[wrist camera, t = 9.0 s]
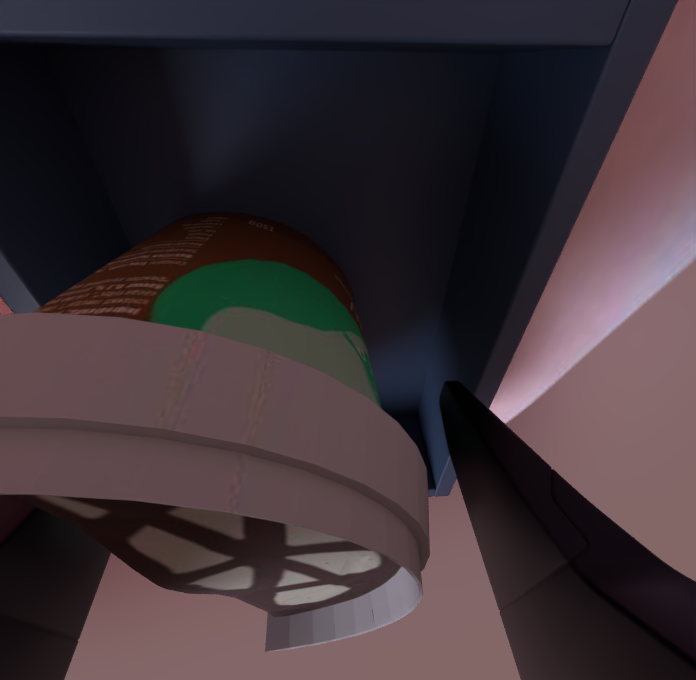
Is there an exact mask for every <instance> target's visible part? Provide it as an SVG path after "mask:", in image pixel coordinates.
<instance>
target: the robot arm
mask: <svg viewBox="0 0 696 680" xmlns="http://www.w3.org/2000/svg"><path fill="white" fill-rule="evenodd" d="M439 405H440V411H441V416H442V421H443V426H444V431H445V436H446V441H447V446H448V451H449V454H450V457H451V461H452V464H453V467H454V470H455V473H456V476H457V479H458V483H459V486H460V489H461V492H462V495H463V498H464V501H465V504H466V508H467V511H468V514H469V517H470V520H471V523H472V526H473V530H474V533H475V536H476V539H477V542H478V545H479V549H480V552H481V555H482V558H483V561H484V564H485V567H486V571H487V574H488V577H489V580H490V583H491V586H492V589H493V593H494V595H495V599H496V602H497V605H498V608H499V610H500V615H501V618H502V621H503V624H504V628H505V631H506V634H507V637H508V640H509V643H510V647H511V649H512V652H513V656H514V659H515V662H516V665H517V669H518V672H519V675H520V678H521V680H696V582H695V581H694V580H692V579H690V578H688V577H686V576H685V575H683V574H681V573H680V572H678V571H676V570H675V569H673V568H672V567H670V566H669V565H668V564H666V563H665V562H663V561H662V560H661V559H659V558H658V557H657V556H656V555H654V554H653V553H652V552H651V551H649V550H648V549H647V548H646V547H644V546H643V545H642V544H640V543H639V542H638V541H637V540H636V539H635V538H633V537H632V536H631V535H629V534H628V533H627V532H626V531H625V530H623V529H622V528H621V527H620V526H618V525H617V524H616V523H615V522H613V521H612V520H611V519H610V518H608V517H607V516H606V515H605V514H604V513H602V512H601V511H600V510H599V509H598V508H596V507H595V506H594V505H593V504H592V503H590V502H589V501H588V500H587V499H586V498H584V497H583V496H582V495H581V494H580V493H579V492H578V491H577V490H576V489H574V488H573V487H572V486H571V485H570V484H569V483H568V482H567V481H566V480H564V479H563V478H562V477H561V476H560V475H559V474H558V473H557V472H556V471H555V470H553V469H552V470H551V467H550V466H549V465H548V464H547V463H546V462H545V461H544V460H543V459H542V458H541V457H540V456H539V455H538V454H536V453H535V452H534V451H533V450H532V449H531V448H530V447H529V446H528V445H527V444H526V443H525V442H524V441H523V440H521V439H520V438H519V437H518V436H517V435H516V434H515V433H514V432H513V431H512V430H511V429H510V428H509V427H508V426H507V425H505V424H504V423H503V422H502V421H501V420H500V419H499V418H498V417H497V416H496V415H495V414H494V413H493V412H492V411H491V410H489V409H488V408H487V407H486V406H485V405H484V404H483V403H482V402H481V401H480V400H479V399H478V398H477V397H476V396H474V395H473V394H472V393H471V392H470V391H469V390H468V389H467V388H466V387H465V386H464V385H463V384H462V383H461V382H459V381H457V380H453V381H445V382H444V384H443V387H442V391H441V394H440V397H439ZM110 554H111V552H110V551H109V550H108V549H106V548H105V547H104V546H102V545H101V544H100V543H98V542H97V541H96V540H94V539H93V538H92V537H90V536H89V535H88V534H87V533H85V532H84V531H83V530H81V529H80V528H78V527H76V526H74V525H72V524H70V523H68V522H66V521H64V520H62V519H60V518H58V517H56V516H54V515H52V514H50V513H48V512H46V511H43V510H41V509H39V508H37V507H35V506H33V505H31V504H29V503H27V502H25V501H23V500H21V499H19V498H17V497H15V496H13V495H0V680H64V679H65V676H66V673H67V671H68V668H69V665H70V662H71V660H72V657H73V654H74V652H75V649H76V646H77V644H78V639H79V638H80V635H81V632H82V630H83V627H84V624H85V621H86V619H87V616H88V613H89V611H90V608H91V605H92V602H93V600H94V597H95V594H96V592H97V589H98V586H99V583H100V581H101V578H102V576H103V573H104V570H105V568H106V565H107V562H108V559H109V557H110Z"/></svg>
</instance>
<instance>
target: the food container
mask: <svg viewBox="0 0 696 680" xmlns="http://www.w3.org/2000/svg"><path fill="white" fill-rule="evenodd" d="M0 495H13V496H15V497H17V498H19V499H21V500H23V501H25V502H27V503H29V504H31V505H33V506H35V507H37V508H39V509H41V510H43V511H46V512H48V513H50V514H52V515H54V516H56V517H58V518H60V519H62V520H64V521H66V522H68V523H70V524H72V525H74V526H76V527H78V528H80V529H81V530H83V531H84V532H85V533H87V534H88V535H89V536H90V537H92V538H93V539H94V540H96V541H97V542H98V543H100V544H101V545H102V546H104V547H105V548H106V549H108V550H109V551H110V552H111V553H113V554H114V555H116V556H117V557H118V558H119V559H121V560H122V561H123V562H125V563H126V564H127V565H129V566H130V567H131V568H132V569H134V570H135V571H137V572H138V573H140V574H141V575H143V576H144V577H146V578H147V579H149V580H150V581H152V582H153V583H155V584H156V585H158V586H160V587H163V588H165V589H169V590H174V591H179V592H184V593H191V594H219V595H225V596H230V597H235V598H237V599H240V600H242V601H244V602H246V603H249V604H251V605H253V606H256V607H258V608H260V609H263V610H265V611H267V612H268V618H267V634H266V649H265V652H269V651H278V650H287V649H294V648H301V647H307V646H313V645H318V644H323V643H327V642H332V641H337V640H341V639H345V638H349V637H353V636H357V635H360V634H364V633H367V632H370V631H373V630H376V629H378V628H381V627H383V626H386V625H388V624H391V623H393V622H395V621H397V620H399V619H400V618H402V617H404V616H406V615H407V614H409V613H410V612H411V611H412V610H413V609H414V608H415V607H416V606H417V605H418V604H419V602H420V600H421V598H422V595H423V590H422V580H421V571H422V570H423V569H424V567H425V565H426V563H427V560H428V558H429V555H430V550H429V549H430V548H429V510H428V482H427V468H426V466H425V463H424V461H423V459H422V456H421V454H420V452H419V449H418V447H417V445H416V444H415V443H414V442H413V440H412V439H411V438H410V437H409V435H408V434H407V433H406V432H405V430H404V429H403V428H402V427H401V425H400V424H399V423H398V422H397V421H396V420H394V419H393V418H392V417H391V416H389V415H388V414H387V413H386V412H385V411H383V410H382V406H381V402H380V398H379V394H378V390H377V386H376V382H375V379H374V375H373V371H372V367H371V363H370V359H369V355H368V351H367V347H366V343H365V339H364V335H363V331H362V327H361V324H360V320H359V316H358V312H357V308H356V304H355V300H354V296H353V292H352V290H351V287H350V285H349V283H348V280H347V278H346V276H345V275H344V273H343V272H342V270H341V269H340V267H339V266H338V264H337V263H336V262H335V261H334V260H333V258H332V257H331V256H330V255H329V254H328V253H327V252H326V251H325V250H324V249H323V248H322V247H320V246H319V245H318V244H317V243H315V242H314V241H313V240H311V239H310V238H309V237H307V236H306V235H304V234H302V233H300V232H298V231H297V230H295V229H293V228H291V227H290V226H287V225H284V224H282V223H279V222H277V221H274V220H272V219H269V218H265V217H261V216H256V215H252V214H248V213H238V212H227V211H221V212H205V213H198V214H194V215H190V216H186V217H181V218H178V219H177V220H175V221H174V222H172V223H170V224H169V225H167V226H166V227H164V228H163V229H161V230H160V231H158V232H156V233H155V234H153V235H152V236H150V237H149V238H147V239H146V240H144V241H143V242H141V243H139V244H138V245H136V246H135V247H133V248H132V249H130V250H129V251H127V252H125V253H124V254H122V255H121V256H119V257H118V258H116V259H115V260H113V261H112V262H110V263H108V264H107V265H105V266H104V267H102V268H101V269H99V270H98V271H96V272H95V273H93V274H91V275H90V276H88V277H87V278H85V279H84V280H82V281H81V282H79V283H77V284H76V285H74V286H73V287H71V288H70V289H68V290H67V291H65V292H64V293H62V294H60V295H59V296H57V297H56V298H54V299H53V300H51V301H50V302H48V303H47V304H45V305H43V306H42V307H40V308H39V309H37V310H36V311H34V312H33V313H21V314H5V315H0Z"/></svg>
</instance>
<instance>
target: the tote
mask: <svg viewBox="0 0 696 680" xmlns="http://www.w3.org/2000/svg"><path fill="white" fill-rule="evenodd" d="M677 2H678V0H0V296H1V298H2V299H3V300H4V301H5V303H6V304H7V305H8V306H9V308H10V309H11V310H12V311H13V313H14V314H21V313H33V312H34V311H36V310H37V309H39V308H40V307H42V306H43V305H45V304H47V303H48V302H50V301H51V300H53V299H54V298H56V297H57V296H59V295H60V294H62V293H64V292H65V291H67V290H68V289H70V288H71V287H73V286H74V285H76V284H77V283H79V282H81V281H82V280H84V279H85V278H87V277H88V276H90V275H91V274H93V273H95V272H96V271H98V270H99V269H101V268H102V267H104V266H105V265H107V264H108V263H110V262H112V261H113V260H115V259H116V258H118V257H119V256H121V255H122V254H124V253H125V252H127V251H129V250H130V249H132V248H133V247H135V246H136V245H138V244H139V243H141V242H143V241H144V240H146V239H147V238H149V237H150V236H152V235H153V234H155V233H156V232H158V231H160V230H161V229H163V228H164V227H166V226H167V225H169V224H170V223H172V222H174V221H175V220H177V219H178V218H181V217H186V216H190V215H194V214H198V213H205V212H221V211H227V212H238V213H248V214H252V215H256V216H261V217H265V218H269V219H272V220H274V221H277V222H279V223H282V224H284V225H287V226H290V227H291V228H293V229H295V230H297V231H298V232H300V233H302V234H304V235H306V236H307V237H309V238H310V239H311V240H313V241H314V242H315V243H317V244H318V245H319V246H320V247H322V248H323V249H324V250H325V251H326V252H327V253H328V254H329V255H330V256H331V257H332V258H333V260H334V261H335V262H336V263H337V264H338V266H339V267H340V269H341V270H342V272H343V273H344V275H345V276H346V278H347V280H348V283H349V285H350V287H351V290H352V292H353V296H354V300H355V304H356V308H357V312H358V316H359V320H360V324H361V327H362V331H363V335H364V339H365V343H366V347H367V351H368V355H369V359H370V363H371V367H372V371H373V375H374V379H375V382H376V386H377V390H378V394H379V398H380V402H381V406H382V410H383V411H385V412H386V413H387V414H388V415H389V416H391V417H392V418H393V419H394V420H396V421H397V422H398V423H399V424H400V425H401V427H402V428H403V429H404V430H405V432H406V433H407V434H408V435H409V437H410V438H411V439H412V440H413V442H414V443H415V444H416V445H417V447H418V449H419V452H420V454H421V456H422V459H423V461H424V463H425V466H426V468H427V482H428V497H432V496H433V495H434V496H448V495H449V494H450V491H451V489H452V487H453V485H454V483H455V481H456V479H457V476H456V473H455V470H454V467H453V464H452V461H451V457H450V454H449V451H448V446H447V441H446V436H445V431H444V426H443V421H442V416H441V411H440V405H439V397H440V394H441V391H442V387H443V384H444V382H445V381H453V380H457V381H459V382H461V383H462V384H463V385H464V386H465V387H466V388H467V389H468V390H469V391H470V392H471V393H472V394H473V395H474V396H476V397H477V398H478V399H479V400H480V401H481V402H482V403H483V404H484V405H485V406H486V407H487V408H488V409H489V407H490V405H491V403H492V401H493V399H494V397H495V395H496V392H497V390H498V388H499V386H500V384H501V382H502V379H503V377H504V375H505V373H506V371H507V369H508V366H509V364H510V362H511V360H512V358H513V356H514V354H515V351H516V349H517V347H518V345H519V343H520V341H521V338H522V336H523V334H524V332H525V330H526V328H527V325H528V323H529V321H530V319H531V317H532V315H533V313H534V310H535V308H536V306H537V304H538V302H539V300H540V297H541V295H542V293H543V291H544V289H545V287H546V284H547V282H548V280H549V278H550V276H551V274H552V272H553V269H554V267H555V265H556V263H557V261H558V259H559V256H560V254H561V252H562V250H563V248H564V246H565V243H566V241H567V239H568V237H569V235H570V233H571V231H572V228H573V226H574V224H575V222H576V220H577V218H578V215H579V213H580V211H581V209H582V207H583V205H584V202H585V200H586V198H587V196H588V194H589V192H590V190H591V187H592V185H593V183H594V181H595V179H596V177H597V174H598V172H599V170H600V168H601V166H602V164H603V162H604V159H605V157H606V155H607V153H608V151H609V149H610V146H611V144H612V142H613V140H614V138H615V136H616V133H617V131H618V129H619V127H620V125H621V123H622V121H623V118H624V116H625V114H626V112H627V110H628V108H629V105H630V103H631V101H632V99H633V97H634V95H635V92H636V90H637V88H638V86H639V84H640V82H641V80H642V77H643V75H644V73H645V71H646V69H647V67H648V64H649V62H650V60H651V58H652V56H653V54H654V51H655V49H656V47H657V45H658V43H659V41H660V39H661V36H662V34H663V32H664V30H665V28H666V26H667V23H668V21H669V19H670V17H671V15H672V13H673V10H674V8H675V6H676V4H677Z"/></svg>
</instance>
